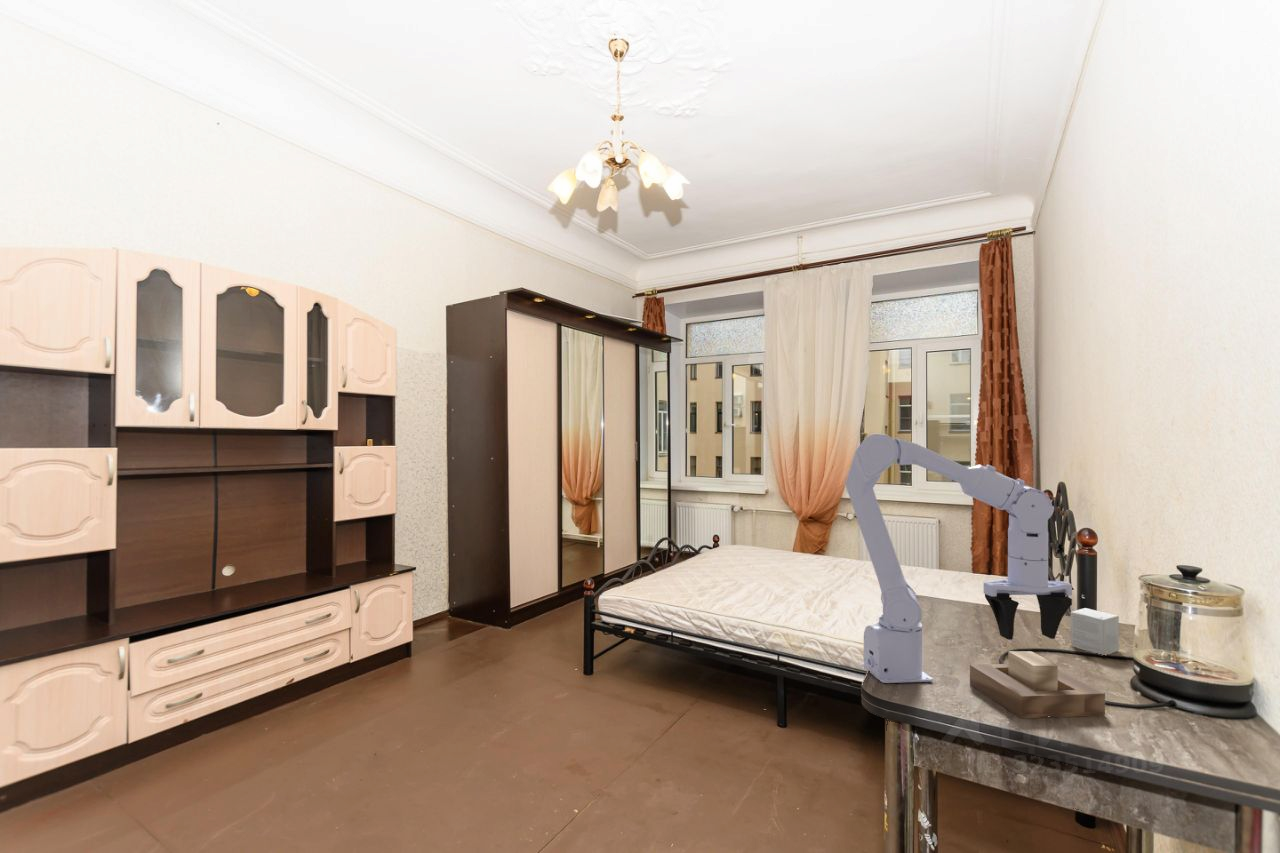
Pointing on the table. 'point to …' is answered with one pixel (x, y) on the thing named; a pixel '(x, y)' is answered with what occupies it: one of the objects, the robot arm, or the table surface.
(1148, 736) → the table surface
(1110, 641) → the product box
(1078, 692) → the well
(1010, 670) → the beige wooden block
